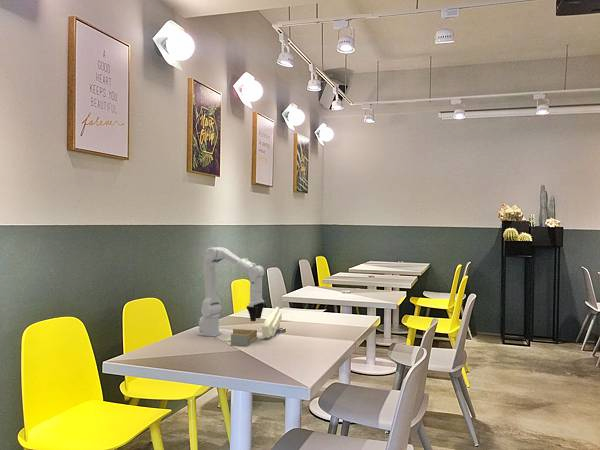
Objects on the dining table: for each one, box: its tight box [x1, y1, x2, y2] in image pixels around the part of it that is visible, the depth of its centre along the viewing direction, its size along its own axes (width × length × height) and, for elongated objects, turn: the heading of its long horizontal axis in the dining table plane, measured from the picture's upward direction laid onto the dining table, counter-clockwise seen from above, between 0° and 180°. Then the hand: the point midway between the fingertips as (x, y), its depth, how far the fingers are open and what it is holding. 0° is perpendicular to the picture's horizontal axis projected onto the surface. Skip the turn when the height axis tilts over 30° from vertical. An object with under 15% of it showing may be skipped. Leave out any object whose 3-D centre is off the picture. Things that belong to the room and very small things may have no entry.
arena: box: [223, 328, 258, 343], centre depth 243 cm, size 12×12×4 cm
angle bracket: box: [230, 333, 252, 347], centre depth 232 cm, size 8×5×5 cm, turn 75°
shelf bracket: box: [261, 306, 282, 339], centre depth 255 cm, size 6×25×13 cm, turn 169°
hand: (255, 319), depth 240 cm, fingers open, 7 cm apart
